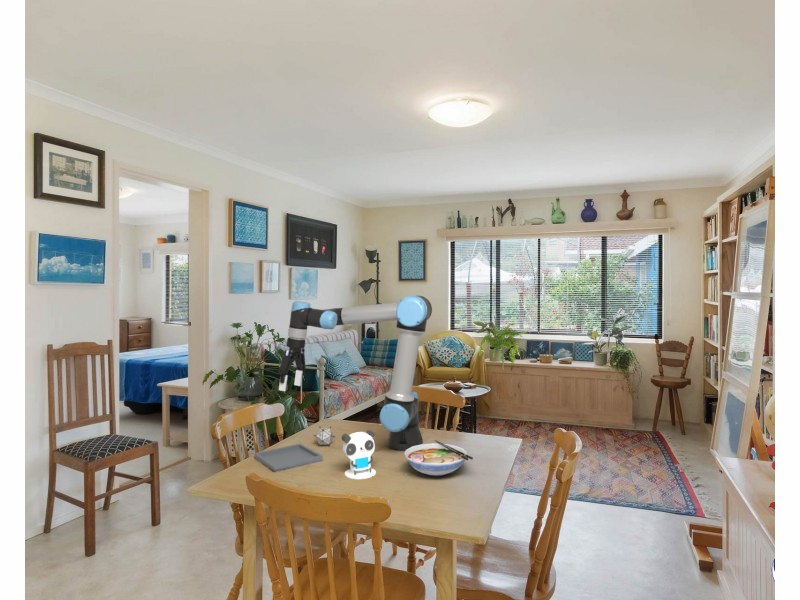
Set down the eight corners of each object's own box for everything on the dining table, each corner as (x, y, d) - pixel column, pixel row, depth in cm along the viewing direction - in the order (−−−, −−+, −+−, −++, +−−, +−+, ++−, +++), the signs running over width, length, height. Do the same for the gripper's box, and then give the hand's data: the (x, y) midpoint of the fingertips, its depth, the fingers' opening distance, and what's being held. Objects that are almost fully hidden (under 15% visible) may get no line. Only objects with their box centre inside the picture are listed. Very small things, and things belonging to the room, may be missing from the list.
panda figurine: (349, 481, 176) (348, 439, 176) (338, 471, 186) (337, 431, 186) (380, 475, 181) (379, 434, 181) (368, 466, 191) (368, 426, 191)
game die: (328, 452, 219) (341, 432, 222) (323, 451, 211) (337, 430, 214) (312, 441, 222) (325, 421, 224) (307, 439, 214) (320, 419, 216)
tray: (322, 460, 198) (322, 455, 198) (274, 472, 186) (273, 466, 186) (300, 448, 214) (300, 443, 214) (254, 458, 202) (254, 453, 202)
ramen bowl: (393, 466, 190) (393, 445, 190) (447, 457, 199) (446, 437, 199) (422, 490, 167) (422, 466, 167) (481, 479, 176) (481, 456, 176)
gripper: (301, 335, 225) (295, 381, 225) (273, 338, 201) (266, 391, 201) (317, 337, 223) (310, 385, 223) (290, 341, 199) (283, 394, 199)
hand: (289, 388), depth 212 cm, fingers open, 13 cm apart
